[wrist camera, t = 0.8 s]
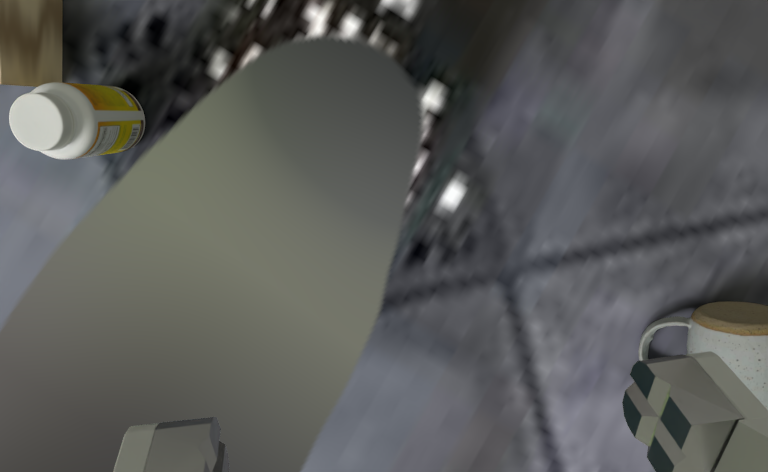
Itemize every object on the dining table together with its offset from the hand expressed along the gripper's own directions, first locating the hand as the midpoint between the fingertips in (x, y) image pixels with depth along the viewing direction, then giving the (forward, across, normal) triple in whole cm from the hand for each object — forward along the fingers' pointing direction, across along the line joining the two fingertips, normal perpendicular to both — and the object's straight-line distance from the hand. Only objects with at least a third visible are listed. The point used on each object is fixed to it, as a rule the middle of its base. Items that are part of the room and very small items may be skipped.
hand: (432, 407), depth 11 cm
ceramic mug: (+24, -29, +26) cm, 46 cm away
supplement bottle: (+42, +19, +8) cm, 47 cm away
